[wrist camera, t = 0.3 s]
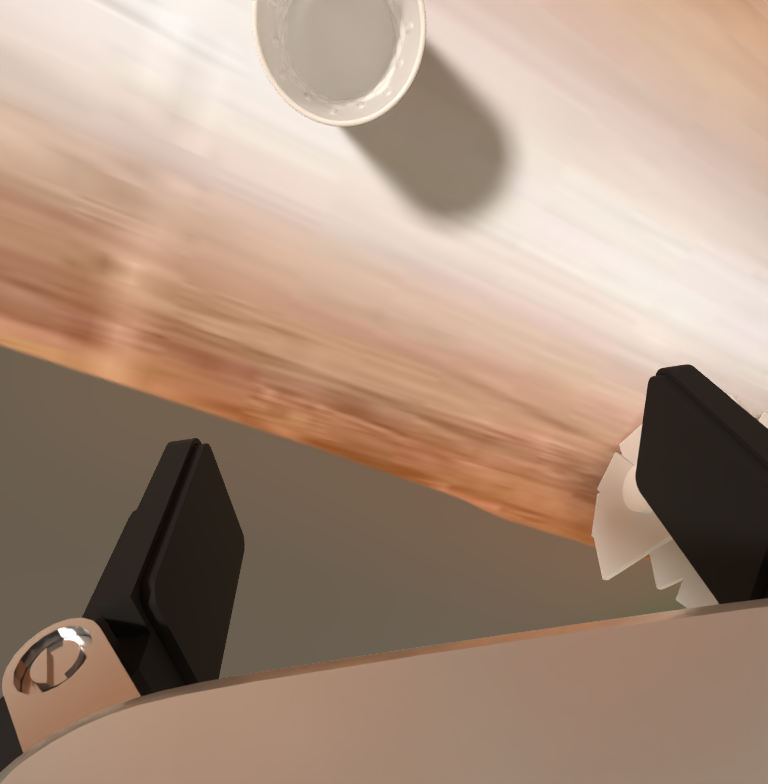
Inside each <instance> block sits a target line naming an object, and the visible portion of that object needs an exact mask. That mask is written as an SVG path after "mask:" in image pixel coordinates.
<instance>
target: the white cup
mask: <svg viewBox="0 0 768 784" xmlns="http://www.w3.org/2000/svg"><path fill="white" fill-rule="evenodd" d="M252 28H253V37H254V42H255V47H256V51H257V54H258V57H259V60H260V63H261V65H262V67H263V70H264V72H265V74H266V76H267V78H268V79H269V81H270V83H271V84H272V86H273V87H274V89H275V90H276V91H277V92H278V94H279V95H280V96H281V97H282V98H283V99H284V100H285V101H286V102H287V103H288V104H289V105H290V106H291V107H292V108H293V109H295V110H296V111H297V112H299V113H300V114H302V115H304V116H305V117H307V118H309V119H311V120H314V121H316V122H319V123H322V124H326V125H331V126H339V127H347V126H356V125H360V124H364V123H367V122H370V121H372V120H374V119H376V118H378V117H380V116H382V115H383V114H385V113H386V112H388V111H389V110H390V109H391V108H392V107H394V106H395V105H396V104H397V103H398V102H399V101H400V99H401V98H402V97H403V96H404V95H405V93H406V92H407V90H408V89H409V87H410V86H411V84H412V82H413V80H414V78H415V76H416V74H417V72H418V69H419V67H420V64H421V60H422V57H423V52H424V47H425V40H426V14H425V6H424V1H423V0H253V6H252Z"/></svg>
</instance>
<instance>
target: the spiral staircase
mask: <svg viewBox="0 0 768 784" xmlns="http://www.w3.org/2000/svg"><path fill="white" fill-rule="evenodd" d="M730 397H731V398H732V399H733V400H734V401H735V402H737V403H738V404H739V405H740V406H741V407H743V408H744V409H745V410H746V411H747V412H748V413H750V412H749V410H748V409H747V408H746V407H745V406H744V405H743V404H742V403H741V401H740V400H739V399H738V398H737V397H735V396H733V395H731V396H730ZM750 414H751V413H750ZM751 415H752V414H751ZM752 416H753V415H752ZM753 417H754V416H753ZM754 418H755V417H754ZM758 421H759V422H760V423H762V424H763V425H764V426H765V427H766V428H768V413H766V412H763V414H762V415H761V417H760V418H759V420H758ZM641 431H642V424H641V425H640V426H639V427H638V428H637V429H636V430H634V431H633V432H632V433H631V434H630V435H629V436H628V437H627V438H626V439H624V440H623V441H622V442H621V443H620V444H619V446H620V450H621V453H622V455H621V454H620V453H617V452H615V454H614V456H613V458H612V460H611V462H610V464H609V466H608V468H607V470H606V472H605V474H604V476H603V478H602V480H601V482H600V484H599V486H598V488H597V490H598V491H599V492H600V493H597V499H596V506H595V514H594V521H593V528H592V535H591V537H593V538H594V541H595V545H596V550H597V554H598V560H599V564H600V569H601V573H602V578H603V579H605V580H609V579H611V578H612V577H614V576H615V575H617V574H618V573H620V572H622V571H623V570H624V569H626V568H628V567H629V566H631V565H632V564H634V563H636V562H637V561H639V560H640V559H642V558H643V557H645V556H647V555H648V554H650V559H651V563H652V568H653V572H654V577H655V581H656V586H657V589H664V588H666V587H669V586H671V585H673V584H676V583H678V582H680V581H683V582H682V584H681V587H680V590H679V592H678V595H677V598H676V600H677V601H678V602H680V603H681V604H682V605H684V606H685V607H687V608H688V609H689V608H696V607H703V606H710V605H717V604H719V603H718V602H717V600H716V599H715V597H714V596H713V595H712V593H711V592H710V590H709V589H708V587H707V586H706V585H705V583H704V582H703V580H702V579H701V578H700V576H699V575H698V573H697V572H696V571H695V569H694V568H693V566H692V565H691V564H690V562H689V561H688V559H687V558H686V557H685V555H684V554H683V552H682V551H681V550H680V548H679V547H678V545H677V544H676V543H675V541H674V540H673V538H672V537H671V535H670V534H669V533H668V531H667V530H666V528H665V527H664V526H663V524H662V523H661V521H660V520H659V519H658V517H657V516H656V514H655V513H654V512H653V510H652V509H651V507H650V506H649V505H648V503H647V502H646V500H645V499H644V498H643V496H642V495H641V493H640V492H639V490H638V487H637V484H636V479H635V473H636V466H637V459H638V452H639V445H640V438H641Z"/></svg>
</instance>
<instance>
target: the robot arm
mask: <svg viewBox="0 0 768 784" xmlns="http://www.w3.org/2000/svg"><path fill="white" fill-rule="evenodd" d="M635 479H636V484H637V487H638V490H639V492H640V493H641V495H642V496H643V498H644V499H645V500H646V502H647V503H648V505H649V506H650V507H651V509H652V510H653V512H654V513H655V514H656V516H657V517H658V519H659V520H660V521H661V523H662V524H663V526H664V527H665V528H666V530H667V531H668V533H669V534H670V535H671V537H672V538H673V540H674V541H675V543H676V544H677V545H678V547H679V548H680V550H681V551H682V552H683V554H684V555H685V557H686V558H687V559H688V561H689V562H690V564H691V565H692V566H693V568H694V569H695V571H696V572H697V573H698V575H699V576H700V578H701V579H702V580H703V582H704V583H705V585H706V586H707V587H708V589H709V590H710V592H711V593H712V595H713V596H714V597H715V599H716V600H717V602H718V603H719V604H717V605H710V606H703V607H696V608H689V609H682V610H674V611H667V612H660V613H653V614H646V615H639V616H632V617H625V618H618V619H611V620H604V621H597V622H589V623H583V624H575V625H568V626H561V627H555V628H548V629H541V630H534V631H528V632H520V633H513V634H506V635H500V636H493V637H487V638H479V639H473V640H466V641H459V642H453V643H445V644H439V645H432V646H425V647H418V648H412V649H405V650H399V651H392V652H385V653H379V654H372V655H366V656H360V657H353V658H346V659H339V660H333V661H326V662H320V663H314V664H307V665H300V666H294V667H287V668H282V669H276V670H269V671H263V672H258V673H252V674H246V675H240V676H234V677H229V678H222V679H219V674H220V669H221V664H222V659H223V654H224V649H225V644H226V639H227V634H228V629H229V624H230V619H231V614H232V609H233V604H234V599H235V593H236V589H237V584H238V578H239V574H240V569H241V563H242V559H243V554H244V536H243V533H242V530H241V528H240V525H239V522H238V519H237V517H236V514H235V511H234V509H233V506H232V503H231V501H230V498H229V496H228V492H227V490H226V487H225V484H224V482H223V479H222V476H221V474H220V471H219V468H218V465H217V463H216V460H215V457H214V455H213V452H212V450H211V447H210V446H209V444H207V443H206V444H201V442H200V441H199V439H197V438H193V439H186V440H180V441H173V442H170V443H168V445H167V446H166V448H165V450H164V452H163V455H162V457H161V459H160V461H159V463H158V465H157V467H156V470H155V472H154V474H153V476H152V478H151V480H150V483H149V485H148V487H147V489H146V491H145V493H144V496H143V498H142V500H141V502H140V504H139V506H138V508H137V510H135V511H134V512H133V513H132V514H131V516H130V517H129V519H128V521H127V523H126V525H125V528H124V530H123V532H122V534H121V536H120V538H119V540H118V542H117V545H116V547H115V549H114V551H113V553H112V555H111V557H110V559H109V561H108V564H107V566H106V568H105V570H104V572H103V574H102V576H101V578H100V581H99V583H98V585H97V587H96V589H95V591H94V593H93V595H92V597H91V600H90V602H89V604H88V606H87V608H86V610H85V613H84V615H83V616H82V618H74V619H67V620H65V621H61V622H58V623H55V624H54V625H52V626H50V627H48V628H46V629H44V630H42V631H41V632H39V633H38V634H37V635H36V636H34V637H33V638H31V639H30V640H29V641H27V642H26V643H25V645H24V646H23V647H22V648H21V649H20V650H19V651H18V652H17V653H16V654H15V655H14V657H13V659H12V660H11V662H10V663H9V665H8V666H7V668H6V671H5V674H4V677H3V680H2V689H3V695H4V696H3V697H2V698H1V699H0V784H768V428H766V427H765V426H764V425H763V424H762V423H760V422H759V421H758V420H757V419H756V418H754V417H753V416H752V415H751V414H750V413H748V412H747V411H746V410H745V409H744V408H743V407H741V406H740V405H739V404H738V403H737V402H735V401H734V400H733V399H732V398H731V397H729V396H728V395H727V394H726V393H725V392H723V391H722V390H721V389H720V388H719V387H717V386H716V385H715V384H714V383H713V382H711V381H710V380H709V379H708V378H707V377H705V376H704V375H703V374H702V373H701V372H699V371H698V370H697V369H696V368H695V367H693V366H692V365H680V366H673V367H666V368H661V369H659V370H658V371H657V373H656V376H653V377H651V378H650V379H649V382H648V388H647V395H646V402H645V409H644V416H643V423H642V431H641V438H640V445H639V452H638V459H637V466H636V473H635Z"/></svg>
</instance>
